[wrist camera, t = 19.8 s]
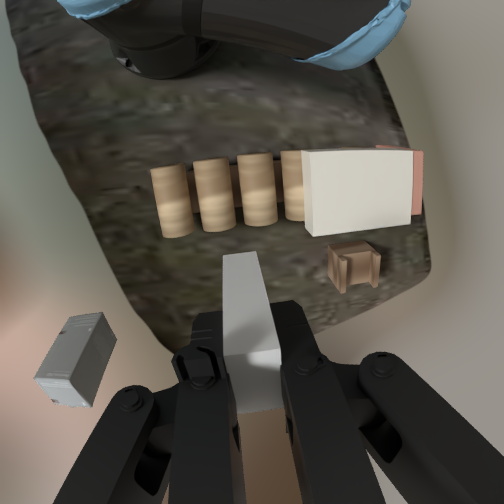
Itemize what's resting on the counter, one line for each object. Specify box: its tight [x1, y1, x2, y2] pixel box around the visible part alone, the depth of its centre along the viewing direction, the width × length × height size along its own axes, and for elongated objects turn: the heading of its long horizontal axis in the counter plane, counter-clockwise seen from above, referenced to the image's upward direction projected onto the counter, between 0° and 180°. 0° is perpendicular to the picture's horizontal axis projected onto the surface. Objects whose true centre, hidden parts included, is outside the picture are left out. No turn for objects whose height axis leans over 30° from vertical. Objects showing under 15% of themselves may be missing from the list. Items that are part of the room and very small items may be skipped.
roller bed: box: [151, 149, 314, 238], centre depth 35 cm, size 8×30×7 cm, turn 96°
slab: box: [301, 148, 413, 237], centre depth 31 cm, size 9×13×3 cm
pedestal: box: [328, 240, 381, 293], centre depth 41 cm, size 5×6×6 cm
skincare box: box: [34, 312, 117, 408], centre depth 38 cm, size 8×7×16 cm
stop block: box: [376, 145, 423, 215], centre depth 35 cm, size 8×2×9 cm, turn 6°
